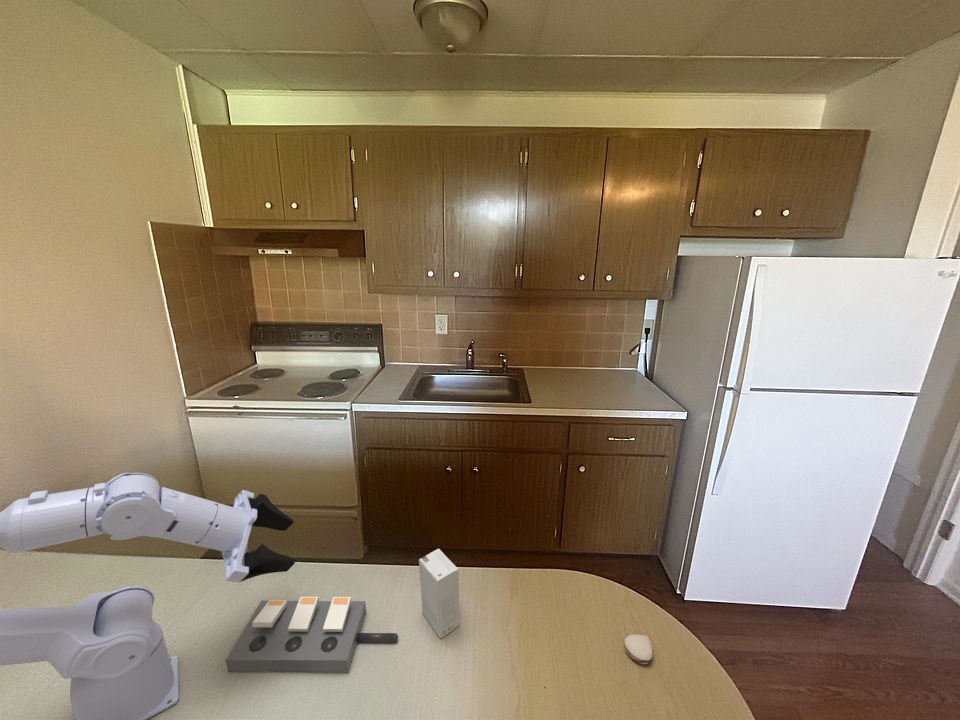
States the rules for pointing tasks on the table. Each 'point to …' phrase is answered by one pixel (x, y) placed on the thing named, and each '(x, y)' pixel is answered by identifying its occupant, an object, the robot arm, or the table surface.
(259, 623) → the white rectangular block
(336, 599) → the rocker
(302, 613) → the rocker
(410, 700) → the table surface
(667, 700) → the table surface
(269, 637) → the power strip
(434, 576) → the skincare box
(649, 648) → the white rounded oval piece
